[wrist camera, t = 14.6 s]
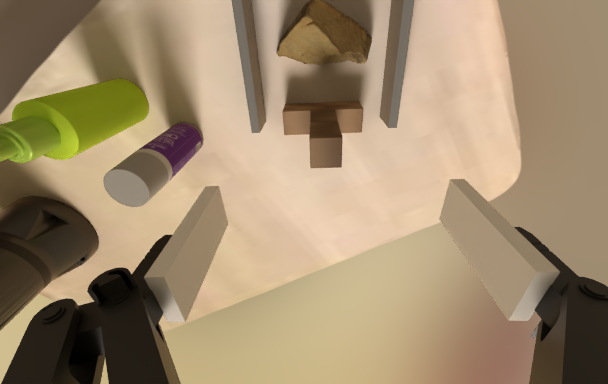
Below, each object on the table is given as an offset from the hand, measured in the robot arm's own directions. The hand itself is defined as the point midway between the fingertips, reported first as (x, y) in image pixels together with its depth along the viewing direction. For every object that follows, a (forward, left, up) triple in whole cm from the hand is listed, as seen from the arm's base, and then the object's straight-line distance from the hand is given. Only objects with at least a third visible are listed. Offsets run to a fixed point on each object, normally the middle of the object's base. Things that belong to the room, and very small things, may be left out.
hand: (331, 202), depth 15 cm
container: (-20, -4, -24) cm, 32 cm away
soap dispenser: (-27, +2, -25) cm, 36 cm away
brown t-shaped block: (0, -1, -24) cm, 24 cm away
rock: (+1, +7, -25) cm, 25 cm away
